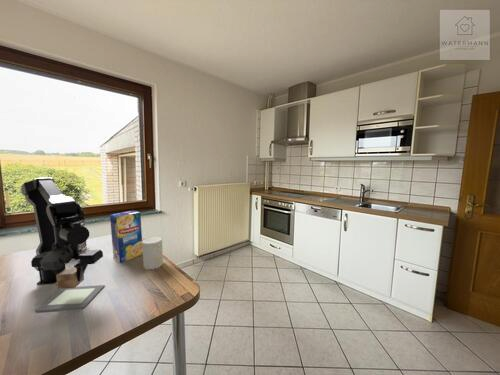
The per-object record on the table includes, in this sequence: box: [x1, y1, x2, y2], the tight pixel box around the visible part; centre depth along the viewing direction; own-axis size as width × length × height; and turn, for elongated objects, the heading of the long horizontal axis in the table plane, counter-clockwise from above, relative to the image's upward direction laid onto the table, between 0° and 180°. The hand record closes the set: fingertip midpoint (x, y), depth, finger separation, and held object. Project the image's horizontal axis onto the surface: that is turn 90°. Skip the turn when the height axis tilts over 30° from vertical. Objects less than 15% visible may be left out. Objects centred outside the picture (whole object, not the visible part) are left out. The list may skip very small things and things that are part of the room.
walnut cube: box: [56, 266, 85, 290], centre depth 71 cm, size 5×5×5 cm
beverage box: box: [109, 210, 143, 263], centre depth 102 cm, size 7×11×22 cm, turn 145°
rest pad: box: [34, 284, 106, 313], centre depth 72 cm, size 14×12×1 cm
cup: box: [142, 236, 164, 270], centre depth 95 cm, size 8×8×12 cm
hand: (71, 281), depth 72 cm, fingers closed on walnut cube, 5 cm apart
